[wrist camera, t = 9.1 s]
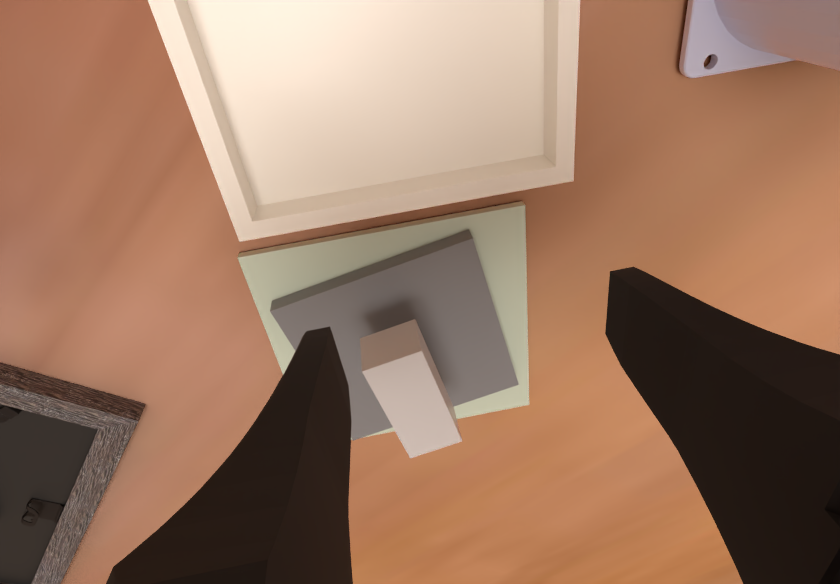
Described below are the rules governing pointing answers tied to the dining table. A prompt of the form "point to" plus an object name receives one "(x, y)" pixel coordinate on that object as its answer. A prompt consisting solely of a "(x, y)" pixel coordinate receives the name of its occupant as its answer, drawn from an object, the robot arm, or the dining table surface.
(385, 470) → the dining table surface
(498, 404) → the sage mat
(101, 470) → the picture frame
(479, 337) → the grey cover
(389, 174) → the tray
